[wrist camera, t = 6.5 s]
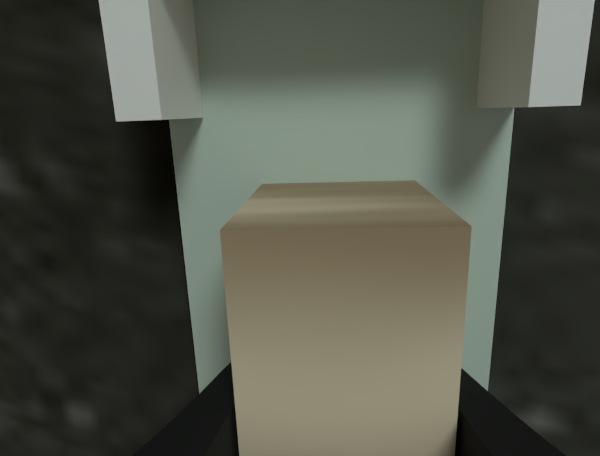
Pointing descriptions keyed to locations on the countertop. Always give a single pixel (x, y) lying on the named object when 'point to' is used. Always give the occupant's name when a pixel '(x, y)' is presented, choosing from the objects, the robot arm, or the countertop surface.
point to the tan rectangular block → (346, 319)
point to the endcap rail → (341, 114)
